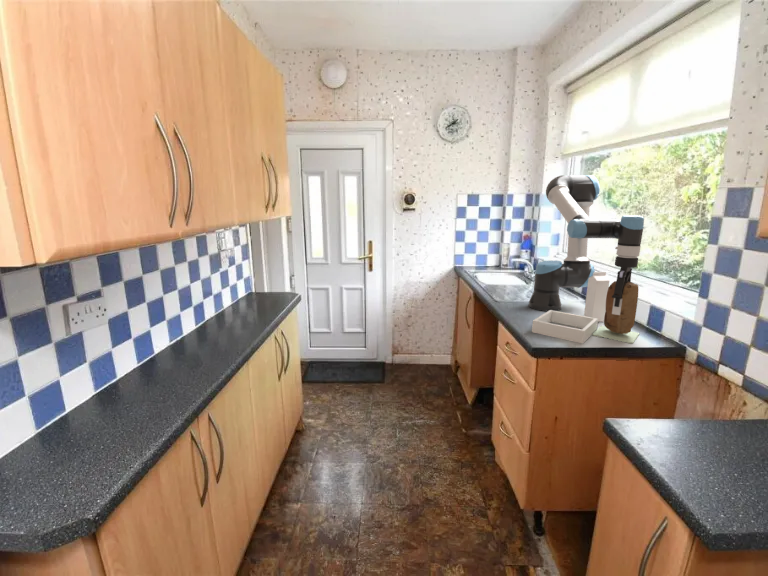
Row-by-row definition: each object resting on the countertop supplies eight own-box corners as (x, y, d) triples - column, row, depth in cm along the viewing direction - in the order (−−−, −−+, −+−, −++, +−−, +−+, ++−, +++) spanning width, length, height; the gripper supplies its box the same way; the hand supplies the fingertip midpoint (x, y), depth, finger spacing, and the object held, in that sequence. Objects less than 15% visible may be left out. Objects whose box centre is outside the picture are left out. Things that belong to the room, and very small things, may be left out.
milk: (604, 321, 173) (611, 273, 168) (591, 322, 173) (597, 273, 168) (595, 317, 179) (602, 270, 174) (583, 317, 179) (589, 270, 174)
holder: (549, 320, 175) (550, 309, 174) (596, 330, 162) (598, 318, 161) (531, 332, 160) (532, 320, 159) (582, 343, 147) (584, 331, 146)
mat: (600, 326, 166) (601, 325, 166) (639, 334, 157) (639, 332, 157) (592, 335, 156) (592, 334, 156) (632, 343, 147) (632, 342, 147)
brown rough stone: (634, 334, 151) (642, 284, 147) (616, 335, 151) (623, 285, 146) (616, 325, 162) (623, 278, 157) (599, 326, 161) (605, 279, 157)
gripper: (622, 252, 160) (615, 303, 165) (609, 258, 143) (601, 315, 148) (643, 254, 156) (635, 306, 161) (632, 261, 138) (623, 319, 143)
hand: (619, 311), depth 154 cm, fingers closed on brown rough stone, 11 cm apart
